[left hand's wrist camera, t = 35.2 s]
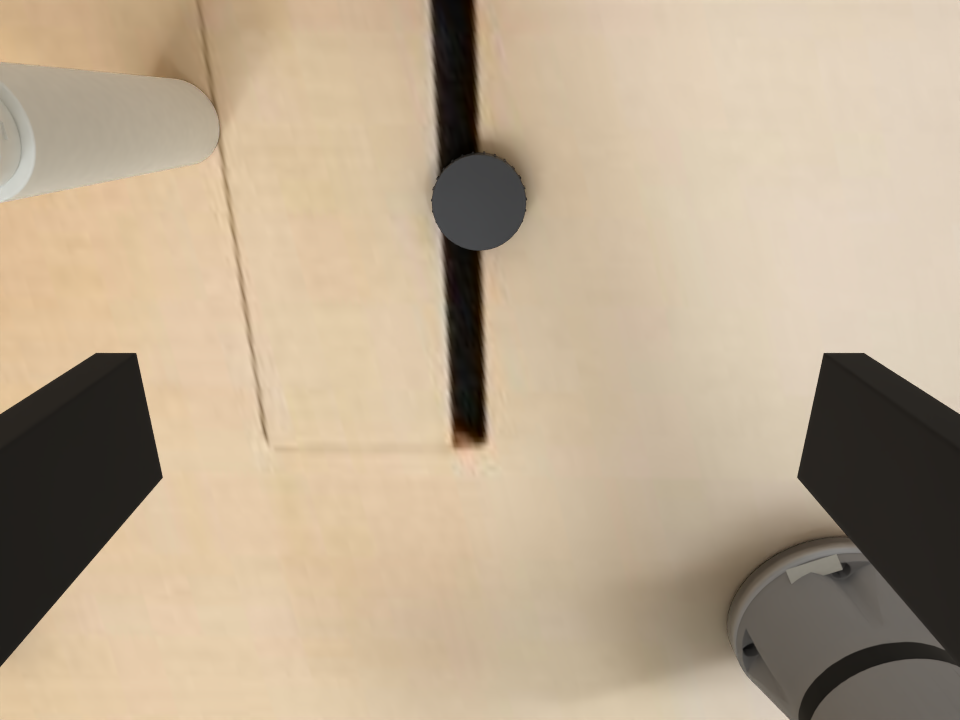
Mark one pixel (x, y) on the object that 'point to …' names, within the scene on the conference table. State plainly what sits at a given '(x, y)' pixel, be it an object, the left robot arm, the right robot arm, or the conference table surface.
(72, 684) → the conference table surface
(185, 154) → the jar
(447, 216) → the lid
